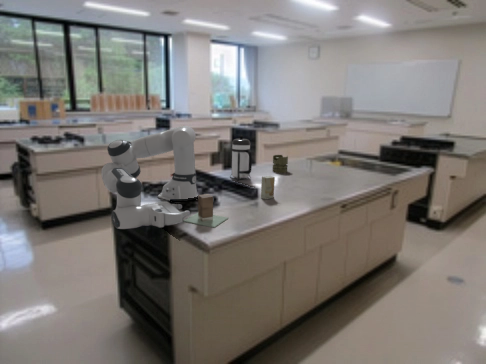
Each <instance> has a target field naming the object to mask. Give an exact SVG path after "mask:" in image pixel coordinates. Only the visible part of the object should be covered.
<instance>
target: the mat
mask: <svg viewBox="0 0 486 364" xmlns="http://www.w3.org/2000/svg"><path fill="white" fill-rule="evenodd" d="M228 219H229V217H227V216H221V215H216V214H213V220H210V221H204V222H202V221H201V220H200V219H199V218H198V212H196V213H195V214H193V215H191V216H189V217H187V218H186V219H183V221H182V223H187V224H188V223H189V224H194V225H199V226H203V227H209V228H217V227H218V226H219V225H221V224H222V223H224V222H225V221H227V220H228Z"/></svg>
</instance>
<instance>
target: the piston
mask: <svg viewBox="0 0 486 364" xmlns="http://www.w3.org/2000/svg"><path fill="white" fill-rule="evenodd" d="M288 163H289V156H288V155H287V156H283V154H273V155H272V169H271V170H272V172H273V173H276V174H287V172H288Z"/></svg>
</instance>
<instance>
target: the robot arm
mask: <svg viewBox="0 0 486 364" xmlns="http://www.w3.org/2000/svg"><path fill="white" fill-rule="evenodd" d="M196 134H197V133H196V131H195V130H194V128H193V127H191V126H189V125H183V126H182V125H181V126H178V127H175V128H171V129H168V130H164V131H160V132H156V133H151V134H148V135H145V136H141V137H139V138H136V139H134V140H132V141H129V140H124V139H116V140H114V141H111V142H110V143H109V145H108V146H107V148H106V149H107V154H108V156H109V157H110V160H111V161H112V162H107V163H106V164H104V165H103V166H102V168H101V174H100V175H101V180H102V182H103V185H104V186H105V188H106V189H107V190H108V191H109V192H110V193H115V194H116V207H115V209H114V210H112V211H111V215H110V216H111V221H112V224H113V226H114V227H115V228H116V229H119V230H127V229H136V228H139V227H143V226H146V227H148V226H152V227H153V226H154V227H157V228H164V227H165V226H172V225H176V224H180V223H183V220H184V218H185V217H186V216H190V215H191V212H190V210H184V211H180V210H181V209H182V208H183V205H182V204H179V203H178V204H177V203H176V204H175V203H170V202H169V201H170V199H188V198H194V197H197V196H198V195H199V194H198V191H197V172H196V155H195V144H194V143H195V141H196V139H197V135H196ZM169 152H173V159H174V172H173V173H171V174H170V175H169V176H170V177H171V179H170V180H169V181H168V182H167V183H165V184H164V185H163V186H162V190H161V192H160V193H159V194H158V195H157V198H158V199H163V200H165V201H158V202H153V203H146V204H145V203H144V204H142V191H143V190H142V188H143V184H142V181H140V179H138V177H139V176H140V174H141V167H140V165H139V162H138V160H137V159H143V158H144V159H145V158H150V157H154V156H158V155H162V154H167V153H169Z"/></svg>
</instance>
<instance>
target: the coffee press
mask: <svg viewBox="0 0 486 364" xmlns="http://www.w3.org/2000/svg"><path fill="white" fill-rule="evenodd" d="M231 145H232V147H231V174H230V176H229V178H230V179H231V178H232V179H233V178H236V181H238V182H239V181H240V179H246V178H247V179H248V180H250V179H252V177H251V173H252V166H253V165H252V164H253V163H252V161H253V160H252V159H253V157H252V153H251V141H250V140H249V139H248V138H244V136H243V135H242V134H241V135H239V138H235V139H233V140H232V142H231ZM231 176H232V177H231Z"/></svg>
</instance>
